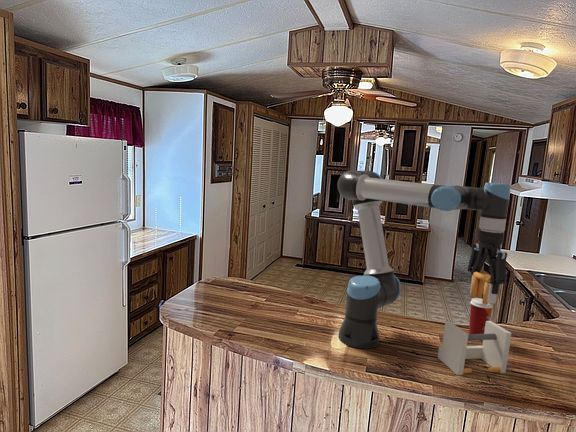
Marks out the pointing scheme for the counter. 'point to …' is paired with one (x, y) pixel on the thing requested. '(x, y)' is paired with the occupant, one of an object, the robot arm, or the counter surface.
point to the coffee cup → (479, 316)
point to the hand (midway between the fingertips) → (482, 298)
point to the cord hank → (480, 286)
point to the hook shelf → (475, 348)
